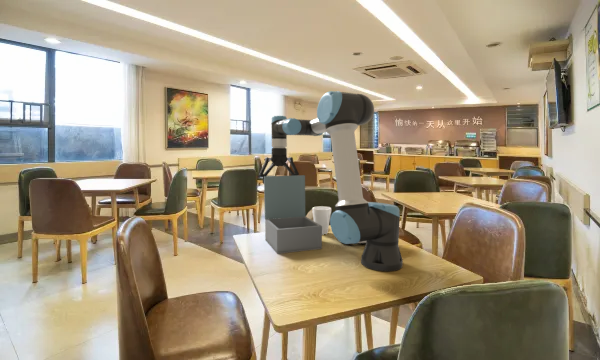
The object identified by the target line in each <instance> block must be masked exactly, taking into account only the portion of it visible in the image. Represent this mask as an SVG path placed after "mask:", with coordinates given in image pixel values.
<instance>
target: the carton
mask: <svg viewBox="0 0 600 360" xmlns="http://www.w3.org/2000/svg"><path fill="white" fill-rule="evenodd" d="M264 219H265V218H264ZM264 223H265V224H264V227H265V229H264V231H265V232H264V233H265V242H266V243H267V244H268V245H269V246H270V247H271V249H272V250H274V251H273V252H275V253H276V254H286V253H295V252H303V251H304V252H305V251H313V250H322V249H323V245H322V244H323V235H322V226H321V225H319V224H318V223H316V222H314V221H312V220H311V219H309V218H307V217H306V215H305V216H304V217H290V218H277V219H265V221H264Z"/></svg>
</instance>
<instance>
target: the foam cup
mask: <svg viewBox="0 0 600 360" xmlns="http://www.w3.org/2000/svg"><path fill="white" fill-rule="evenodd" d="M311 210H312V213H313V219H314V222H316V223H318V224H319V225H321V226H322V236H325V235H324V234H326V235H328V234H327V233H329V227H330V218H331V215H332V207H330V206H323V205H321V206H314V207H312V208H311Z"/></svg>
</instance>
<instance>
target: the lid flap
mask: <svg viewBox="0 0 600 360" xmlns="http://www.w3.org/2000/svg"><path fill="white" fill-rule="evenodd" d="M263 186H264V187H263V188H264V189H263V193H264V194H263V195H264V198H263V199H264V219H277V218H291V217H305V216H306V175H304V174H303V175H302V174H301V175H300V174H299V175H297V176H292V175H285V174H284V175H281V174H277V175H267V176H264V184H263Z"/></svg>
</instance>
